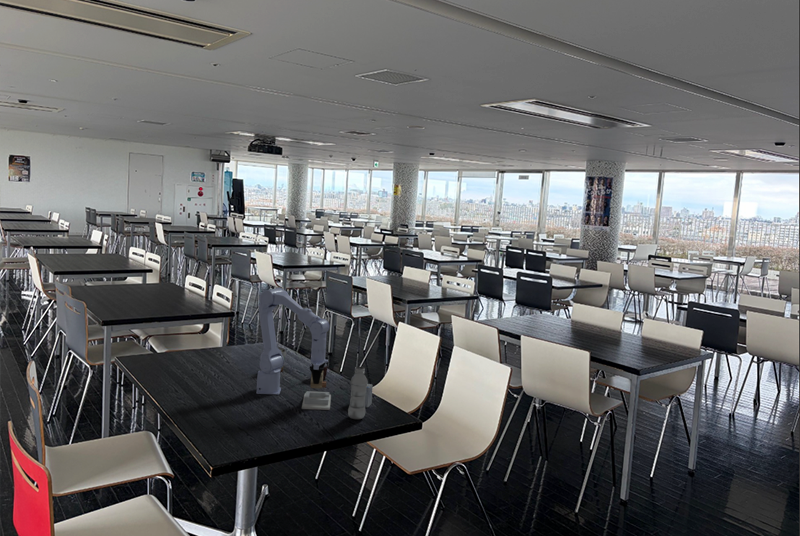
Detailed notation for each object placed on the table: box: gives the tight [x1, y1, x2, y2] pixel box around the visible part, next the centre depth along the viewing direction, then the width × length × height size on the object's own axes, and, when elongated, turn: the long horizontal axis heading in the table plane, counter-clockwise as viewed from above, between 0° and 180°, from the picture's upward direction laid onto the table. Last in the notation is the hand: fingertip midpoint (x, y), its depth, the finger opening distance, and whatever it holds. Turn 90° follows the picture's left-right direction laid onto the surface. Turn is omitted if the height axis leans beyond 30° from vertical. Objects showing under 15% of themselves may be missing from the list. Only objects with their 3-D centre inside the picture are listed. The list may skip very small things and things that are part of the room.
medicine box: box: [365, 383, 374, 408], centre depth 244 cm, size 8×4×9 cm, turn 71°
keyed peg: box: [310, 371, 327, 389], centre depth 241 cm, size 4×6×6 cm
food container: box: [277, 346, 287, 374], centre depth 279 cm, size 12×6×10 cm, turn 168°
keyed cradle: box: [301, 390, 332, 411], centre depth 243 cm, size 11×15×3 cm
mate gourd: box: [309, 348, 328, 381], centre depth 271 cm, size 8×8×15 cm
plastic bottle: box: [347, 366, 369, 420], centre depth 228 cm, size 6×7×20 cm
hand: (316, 381), depth 242 cm, fingers closed on keyed peg, 4 cm apart
